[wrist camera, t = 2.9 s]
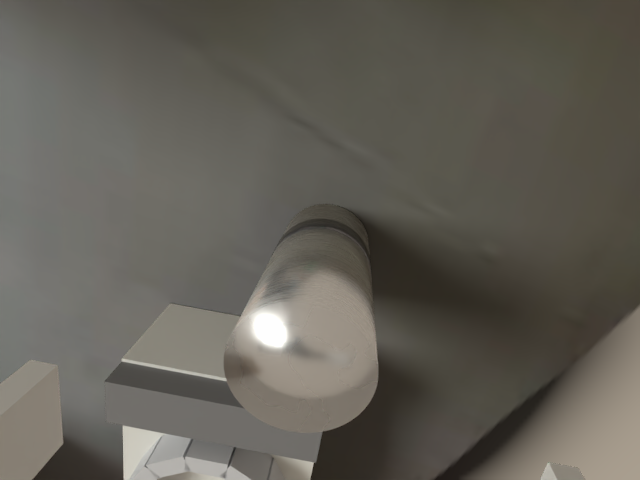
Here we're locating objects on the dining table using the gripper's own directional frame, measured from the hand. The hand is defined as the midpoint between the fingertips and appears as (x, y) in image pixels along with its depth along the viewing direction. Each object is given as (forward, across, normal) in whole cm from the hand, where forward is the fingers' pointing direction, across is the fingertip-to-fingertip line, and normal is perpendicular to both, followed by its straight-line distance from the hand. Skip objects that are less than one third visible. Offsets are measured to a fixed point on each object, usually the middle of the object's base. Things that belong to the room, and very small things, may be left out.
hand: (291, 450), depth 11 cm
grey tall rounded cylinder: (+15, 0, 0) cm, 15 cm away
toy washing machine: (+15, -4, -14) cm, 21 cm away
